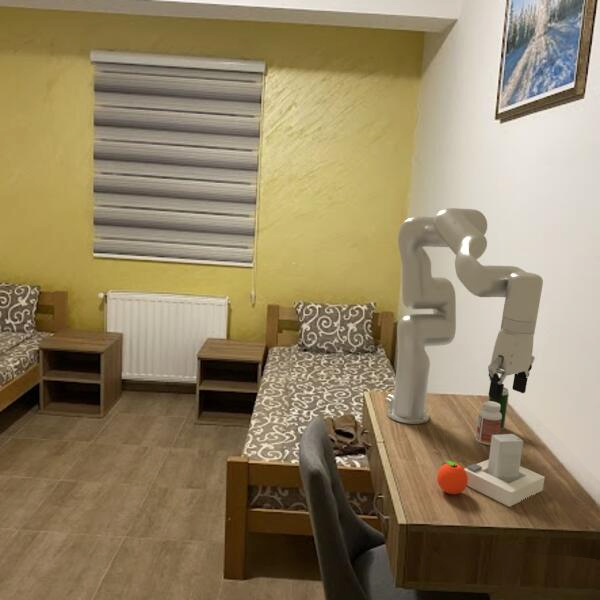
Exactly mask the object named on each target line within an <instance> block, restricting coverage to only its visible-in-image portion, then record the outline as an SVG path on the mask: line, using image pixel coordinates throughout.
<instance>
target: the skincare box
mask: <svg viewBox="0 0 600 600" xmlns="http://www.w3.org/2000/svg"><path fill="white" fill-rule="evenodd" d="M523 445H524V440H523V439H522V438H520V437H518V436H517V435H516V434H514V433H507V434H506V433H505V434H500V435H492V438H491V445H489V447H490V448H489V456H488V459H489V462H488V471H487V474H489V475H492V476H494V477H496V478H498V479H500V480H502V481H504V482H506V483H508V484H509V483H511V482H514V481H516V480H518V476H519V469H520V466H521V460H522V453H523Z"/></svg>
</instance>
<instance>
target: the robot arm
mask: <svg viewBox="0 0 600 600" xmlns="http://www.w3.org/2000/svg"><path fill="white" fill-rule="evenodd" d="M487 221H488V220H487V218H486V216H485V215H484V213H482V212H481V211H480V210H477V209H472V208H459V207H457V208H456V207H455V208H454V207H449V208H445V209H442V210H440V211H439V212H438V213H437V214H436V215H435V216H413V217H409V218H407V219H405V220H404V221H403V222H402V224H401V225H400V227H399V229H398V233H397V246H398V249H399V250H398V251H399V254H400V261H401V295H402V298H401V299H402V303H403V305H404V306H405V307H406V308H407V309H410V310H411V309H412V310H432V313H412V314H407V315H404V316H403V317H401V319H400V320H399V321H398V323H397V327H396V328H397V330H396V332H397V360H396V362H397V363H396V372H395V382H394V393H393V395H392V394H387V396H386V397H385V398H384V402H385V403H387V404H390V405H389V407H388V408H387V410H386V415H387V416H388V417H389V418H390V419H392V420H393V421H396V422H398V423H402V424H403V423H404V424H410V425H420V424H424V423H427V422H428V421H429V419H430V414H429V413H428V411H426V402H427V400H426V399H427V393H428V383H429V376H430V374H429V373H430V365H431V363H430V362H431V361H430V358H429V355H428V353H427V352H426V350H425V348H426V347H434V346H435V347H437V346H446V345H449V344H451V343H452V342H453V341H454V339H455V336H456V330H457V328H456V327H457V322H456V320H457V309H456V308H457V307H456V306H457V305H456V303H457V302H456V299H457V296H456V291H455V287H454V285H453V283H452V281H450V280H449V279H448V278H446V277H441V276H435V277H433V276H432V261H431V259H430V256H429V254H428V253H427V251H426V250H425V249H424V248H423V247H431V248H433V247H434V248H437V247H438V248H449V249H450V250H451V251H452V252H453V254H454V255H455V260H454V267H455V268H454V269H455V274H456V276H457V278H458V280H459V281H460V283H461V284H462V285H463V286H464V287H465V289H467V291H468V292H470V294H472V295H474V296H476V297H478V298H504V299H505V300H504V305H503V311H502V316H501V317H502V318H501V324H500V330H498V333H497V336H496V339H495V343H494V347H493V352H492V355H491V361H490V364H489V365H488V366H487V370H488V371H487V372H488V377H489V381H490V384H489V390H488V398H489V397H491V398H494V399H496V400H501V399H502V393H503V387H505V386H504V383H503V382H504V381H505V379H506V378H507V376H512V375H514V376H513V382H512V390H513V391H516V392H519V393H521V394H525V393H526V390H527V385H528V378H529V377H530V371H531V369H532V367H533V366H532V365H533V364H534V362H535V357H536V356H534V355H533V350H534V336H535V332H536V327H537V319H538V314H539V309H540V303H541V298H542V297H541V296H542V293H543V291H542V290H543V284H544V280H543V278H542V276H541V275H539V274H536V273H533V272H527V271H526V270H523V269H522V268H520V267H518V266H515V265H484V264H483V265H482V264H481V263H480V261H478V260H479V258H481V257H482V256H483V255H484V253H485V251H486V250H487V247H488V241H487V237H486V236H485V234H486V233H487V231H488V222H487ZM499 374H500V376H499Z"/></svg>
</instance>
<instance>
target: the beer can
mask: <svg viewBox="0 0 600 600" xmlns="http://www.w3.org/2000/svg"><path fill="white" fill-rule="evenodd" d="M509 396H510V393H509V389H508V387H505V386H504V387H503V393H502V399H501V400H496V399H494V398H491V397H489V396H488V399H487V401H493V402H497V403H499V404H500V405H501V407H500V411H499V412H500V413H501V414H502V420H501V428H500V431H502V430H503V429H504V428H505V423H506V415H507V410H508V409H507V408H508V401H509Z"/></svg>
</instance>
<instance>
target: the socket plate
mask: <svg viewBox="0 0 600 600" xmlns="http://www.w3.org/2000/svg"><path fill="white" fill-rule="evenodd" d="M488 462H489V458H488V459H486V460H483V461H481V462H479V463H473V464H470V465H469V466H468V465H467V467H465V468H464V470H465V471H466V473H467V476H468V483H467V486H468V487H469V488H471V489H473V490H475V491H477V492H479V493H481V494H483V495H484V496H487V497H489V498H491V499H493V500H495V501H497V502H499V503H500V504H502V505H505V506H507V507H512V506H514V505H516V504H518V503H521V502H522V501H524V500H526V499H528V498H530V497H532V496H534V495H537V494H538V493H540V492H543V490H544V483H545V478H546V476H544V475H542V474H539V473H536V472H535V471H533V470H530V469H529V468H526V467H524V466H521V465H520V469H519V476H518V480H516V481H514V482H511V483H509V484H508V483H506V482H504V481H502V480H500V479H498V478H496V477H494V476H492V475H489V474H487V471H488ZM467 486H466V487H467ZM536 493H537V494H536ZM531 495H532V496H531ZM529 496H530V497H529ZM527 497H528V498H527ZM525 498H526V499H525ZM523 499H524V500H523ZM521 500H522V501H521Z"/></svg>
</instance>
